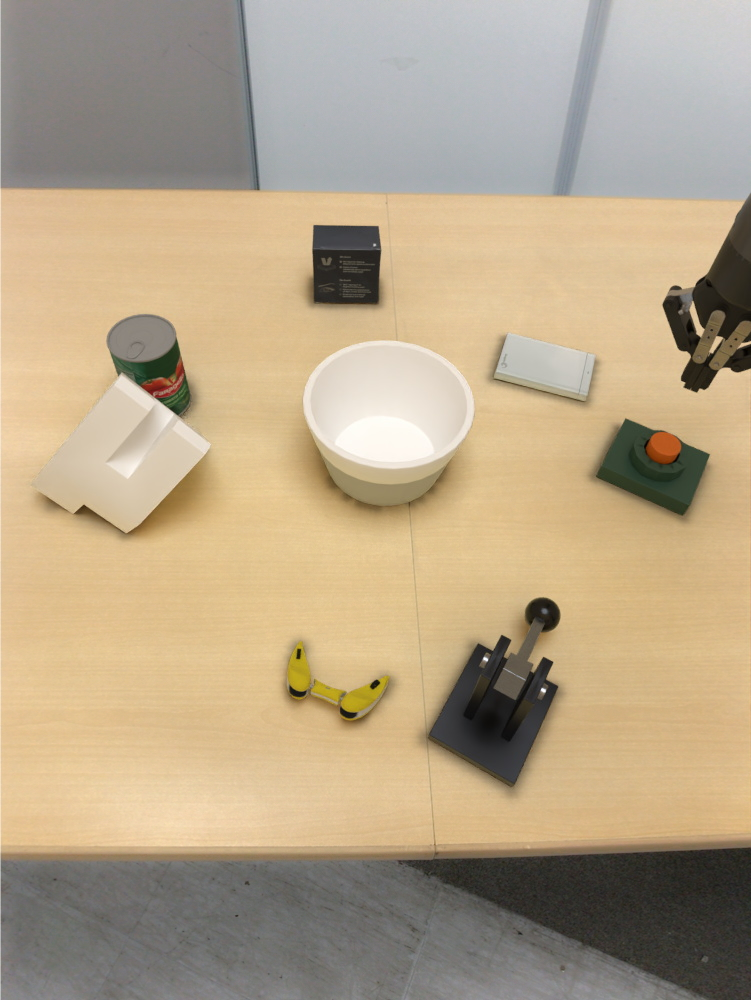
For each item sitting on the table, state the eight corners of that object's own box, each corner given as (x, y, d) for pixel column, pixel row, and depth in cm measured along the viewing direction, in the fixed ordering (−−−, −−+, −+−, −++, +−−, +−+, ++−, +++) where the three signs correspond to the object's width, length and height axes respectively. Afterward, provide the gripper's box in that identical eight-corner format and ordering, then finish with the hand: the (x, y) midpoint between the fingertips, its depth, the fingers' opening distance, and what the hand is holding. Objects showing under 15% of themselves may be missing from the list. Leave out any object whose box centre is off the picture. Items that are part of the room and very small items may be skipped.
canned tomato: (142, 373, 97) (122, 307, 88) (199, 384, 97) (186, 319, 88) (118, 418, 93) (94, 353, 84) (178, 429, 92) (161, 366, 83)
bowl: (389, 554, 83) (396, 500, 74) (272, 459, 90) (265, 399, 81) (492, 458, 92) (509, 399, 83) (378, 378, 99) (382, 316, 90)
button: (679, 448, 89) (685, 439, 88) (670, 469, 88) (676, 460, 86) (650, 436, 90) (656, 427, 89) (641, 456, 88) (646, 447, 87)
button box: (703, 464, 93) (716, 444, 90) (682, 515, 88) (696, 496, 85) (620, 429, 96) (630, 408, 92) (595, 476, 91) (605, 456, 88)
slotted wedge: (113, 541, 86) (174, 500, 73) (29, 484, 82) (77, 429, 69) (173, 455, 94) (238, 403, 80) (98, 399, 90) (154, 334, 76)
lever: (523, 612, 78) (537, 585, 77) (555, 628, 77) (569, 601, 76) (483, 689, 65) (498, 658, 64) (520, 709, 64) (536, 679, 63)
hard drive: (495, 370, 98) (588, 394, 97) (507, 330, 103) (596, 352, 101) (493, 379, 100) (584, 403, 98) (505, 339, 104) (593, 361, 102)
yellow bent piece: (270, 700, 72) (273, 676, 70) (296, 657, 77) (301, 634, 75) (364, 740, 70) (371, 716, 68) (385, 693, 75) (392, 670, 74)
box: (376, 279, 110) (380, 224, 102) (378, 305, 107) (381, 249, 99) (314, 279, 110) (312, 222, 102) (313, 304, 106) (312, 248, 99)
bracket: (476, 647, 77) (496, 595, 68) (556, 690, 75) (589, 642, 65) (427, 738, 72) (442, 695, 62) (512, 787, 69) (541, 751, 60)
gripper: (686, 237, 61) (619, 383, 75) (851, 295, 58) (748, 435, 72) (709, 192, 65) (641, 339, 79) (865, 244, 62) (764, 387, 76)
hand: (692, 385), depth 76 cm, fingers closed
